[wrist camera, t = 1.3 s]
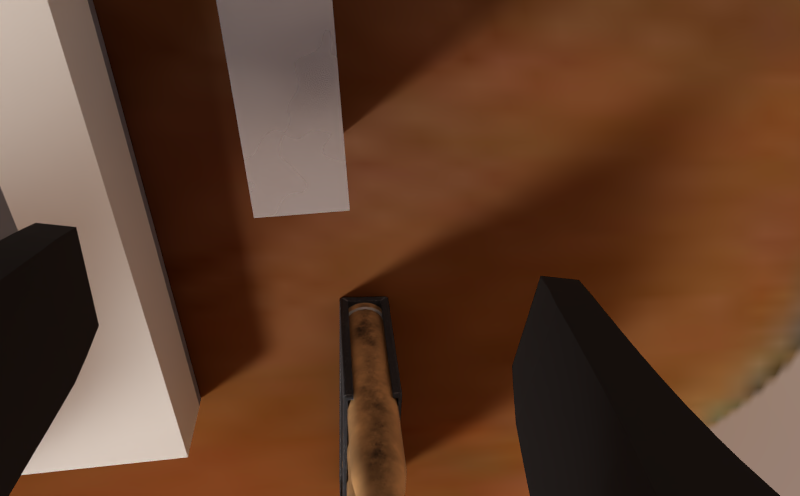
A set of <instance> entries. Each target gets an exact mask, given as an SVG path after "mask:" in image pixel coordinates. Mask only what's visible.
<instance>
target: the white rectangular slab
mask: <svg viewBox="0 0 800 496" xmlns="http://www.w3.org/2000/svg"><path fill="white" fill-rule="evenodd" d="M34 223H43V224H53V225H62V226H72V227H76V228H77V232H78V237H79V241H80V245H81V250H82V254H83V258H84V263H85V267H86V271H87V276H88V280H89V284H90V289H91V293H92V297H93V302H94V306H95V310H96V315H97V319H98V323H99V327H98V329H97V332H96V334H95V337H94V339H93V342H92V344H91V347H90V350H89V352H88V355H87V357H86V359H85V362H84V364H83V366H82V368H81V371H80V373H79V375H78V378H77V380H76V382H75V384H74V386H73V387H72V389H71V391H70V393H69V395H68V396H67V398H66V400H65V401H64V403H63V405H62V407H61V408H60V410H59V412H58V413H57V415H56V417H55V419H54V420H53V422H52V424H51V425H50V427H49V429H48V431H47V432H46V434H45V436H44V437H43V439H42V441H41V442H40V444H39V446H38V447H37V449H36V451H35V452H34V454H33V456H32V457H31V459H30V461H29V462H28V464H27V466H26V467H25V469H24V471H23V472H22V474H21V475H25V474H35V473H44V472H53V471H63V470H72V469H81V468H91V467H100V466H109V465H119V464H128V463H138V462H147V461H156V460H166V459H175V458H184V457H188V454H189V450H190V445H191V441H192V436H193V432H194V427H195V423H196V418H197V414H198V409H199V405H200V401H201V397H200V393H199V390H198V386H197V382H196V379H195V375H194V371H193V368H192V364H191V360H190V357H189V353H188V349H187V346H186V342H185V338H184V335H183V331H182V327H181V324H180V320H179V316H178V313H177V309H176V305H175V301H174V298H173V294H172V290H171V287H170V283H169V279H168V276H167V272H166V268H165V265H164V261H163V257H162V254H161V250H160V246H159V243H158V239H157V235H156V232H155V228H154V224H153V221H152V217H151V213H150V209H149V206H148V202H147V198H146V195H145V191H144V187H143V184H142V180H141V176H140V173H139V169H138V165H137V162H136V158H135V154H134V151H133V147H132V143H131V140H130V136H129V132H128V129H127V125H126V121H125V117H124V114H123V110H122V106H121V103H120V99H119V95H118V92H117V88H116V84H115V81H114V77H113V73H112V70H111V66H110V62H109V59H108V55H107V51H106V48H105V44H104V40H103V37H102V33H101V29H100V25H99V22H98V18H97V14H96V11H95V7H94V3H93V0H0V240H2V239H4V238H6V237H7V236H9V235H11V234H13V233H15V232H17V231H19V230H21V229H23V228H25V227H28V226H30V225H32V224H34Z"/></svg>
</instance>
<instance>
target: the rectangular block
mask: <svg viewBox="0 0 800 496" xmlns="http://www.w3.org/2000/svg"><path fill="white" fill-rule="evenodd" d="M216 3H217V8H218V14H219V20H220V25H221V31H222V37H223V43H224V48H225V54H226V60H227V66H228V71H229V77H230V83H231V89H232V94H233V100H234V106H235V112H236V117H237V123H238V129H239V135H240V140H241V146H242V152H243V158H244V163H245V169H246V175H247V180H248V186H249V192H250V198H251V203H252V209H253V215H254V218H260V217H273V216H286V215H298V214H311V213H324V212H336V211H349V210H350V208H349V196H348V184H347V172H346V160H345V148H344V136H343V124H342V112H341V99H340V87H339V75H338V63H337V51H336V39H335V27H334V15H333V3H332V0H216Z"/></svg>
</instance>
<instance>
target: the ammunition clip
mask: <svg viewBox="0 0 800 496" xmlns="http://www.w3.org/2000/svg"><path fill="white" fill-rule="evenodd" d="M401 403H402V391H401V384H400V377H399V370H398V363H397V356H396V350H395V343H394V336H393V329H392V322H391V315H390V308H389V301H388V298H387V297H349V298H341V299H340V496H405V487H406V473H407V471H406V461H405V454H404V447H403V440H402V432H401V425H400V417H401Z"/></svg>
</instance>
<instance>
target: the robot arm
mask: <svg viewBox="0 0 800 496" xmlns="http://www.w3.org/2000/svg"><path fill="white" fill-rule="evenodd" d="M98 327H99V323H98V319H97V315H96V310H95V306H94V302H93V297H92V293H91V289H90V284H89V280H88V276H87V271H86V267H85V263H84V258H83V254H82V250H81V245H80V241H79V237H78V232H77V228H76V227H72V226H62V225H53V224H43V223H34V224H32V225H30V226H28V227H25V228H23V229H21V230H19V231H17V232H15V233H13V234H11V235H9V236H7V237H6V238H4V239H2V240H0V496H9V494H10V493H11V491H12V489H13V488H14V486H15V484H16V483H17V481H18V479H19V477H20V476H21V474H22V472H23V471H24V469H25V467H26V466H27V464H28V462H29V461H30V459H31V457H32V456H33V454H34V452H35V451H36V449H37V447H38V446H39V444H40V442H41V441H42V439H43V437H44V436H45V434H46V432H47V431H48V429H49V427H50V425H51V424H52V422H53V420H54V419H55V417H56V415H57V413H58V412H59V410H60V408H61V407H62V405H63V403H64V401H65V400H66V398H67V396H68V395H69V393H70V391H71V389H72V387H73V386H74V384H75V382H76V380H77V378H78V375H79V373H80V371H81V368H82V366H83V364H84V362H85V359H86V357H87V355H88V352H89V350H90V347H91V344H92V342H93V339H94V337H95V334H96V332H97V329H98ZM512 372H513V389H514V404H515V417H516V426H517V432H518V437H519V442H520V447H521V453H522V458H523V463H524V468H525V473H526V478H527V483H528V488H529V493H530V496H780V495H779V494H778V493H777V492H775V491H774V490H773V489H772V488H771V487H770V486H769V485H768V484H767V483H765V482H764V481H763V480H762V479H761V478H760V477H759V476H758V475H757V474H756V473H754V472H753V471H752V470H751V469H750V468H749V467H748V466H747V465H745V463H743V462H742V461H741V460H740V459H739V458H738V457H737V456H736V455H735V454H734V453H733V452H732V451H731V450H730V449H729V448H728V447H727V446H726V445H725V444H724V443H722V441H721V440H720V439H718V438H717V437H716V436H715V435H714V433H713V432H712V431H711V430H710V429H709V428H708V427H707V426H706V425H705V424H704V423H703V422H702V421H701V420H700V419H699V418H698V417H697V416H696V415H695V414H694V413H693V412H692V411H691V410H690V409H689V408H688V407H687V406H686V404H685V403H684V402H683V401H682V400H681V399H680V398H679V397H678V396H677V395H676V394H675V393H674V391H673V390H672V389H671V388H670V387H669V386H668V385H667V384H666V383H665V382H664V380H663V379H662V378H661V377H660V376H659V375H658V374H657V373H656V371H655V370H654V369H653V368H652V367H651V366H650V365H649V363H648V362H647V361H646V360H645V359H644V358H643V356H642V355H641V354H640V353H639V352H638V351H637V349H636V348H635V347H634V346H633V345H632V343H631V342H630V341H629V340H628V339H627V337H626V336H625V335H624V334H623V333H622V331H621V330H620V329H619V328H618V327H617V325H616V324H615V323H614V322H613V321H612V319H611V318H610V317H609V316H608V314H607V313H606V312H605V311H604V310H603V308H602V307H601V306H600V305H599V303H598V302H597V301H596V300H595V299H594V297H593V296H592V295H591V294H590V293H589V291H588V290H587V289H586V288H585V287H584V286H583V284H582V283H581V282H580V281H579V280H574V279H564V278H555V277H545V276H541V277H540V280H539V283H538V286H537V289H536V293H535V296H534V299H533V302H532V305H531V308H530V311H529V315H528V318H527V321H526V324H525V327H524V330H523V334H522V337H521V340H520V343H519V346H518V349H517V353H516V356H515V359H514V362H513V365H512Z"/></svg>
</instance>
